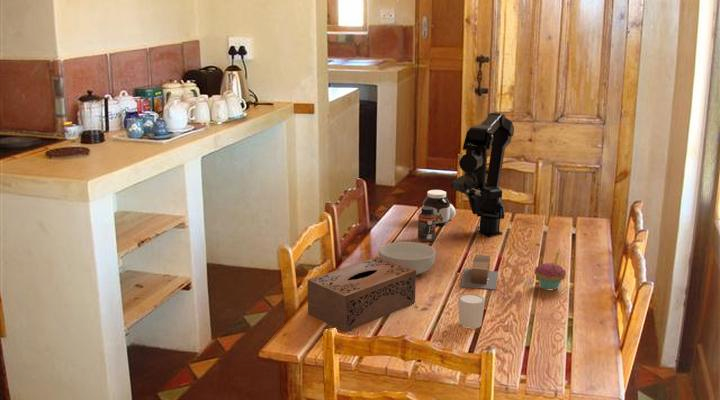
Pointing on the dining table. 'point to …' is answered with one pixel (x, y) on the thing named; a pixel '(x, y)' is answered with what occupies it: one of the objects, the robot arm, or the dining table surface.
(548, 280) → the cupcake
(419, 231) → the supplement bottle
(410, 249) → the cereal bowl
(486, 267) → the walnut block
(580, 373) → the dining table surface
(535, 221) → the dining table surface
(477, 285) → the felt mat
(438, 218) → the spread jar
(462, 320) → the white cup
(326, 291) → the tissue box cover
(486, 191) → the robot arm
